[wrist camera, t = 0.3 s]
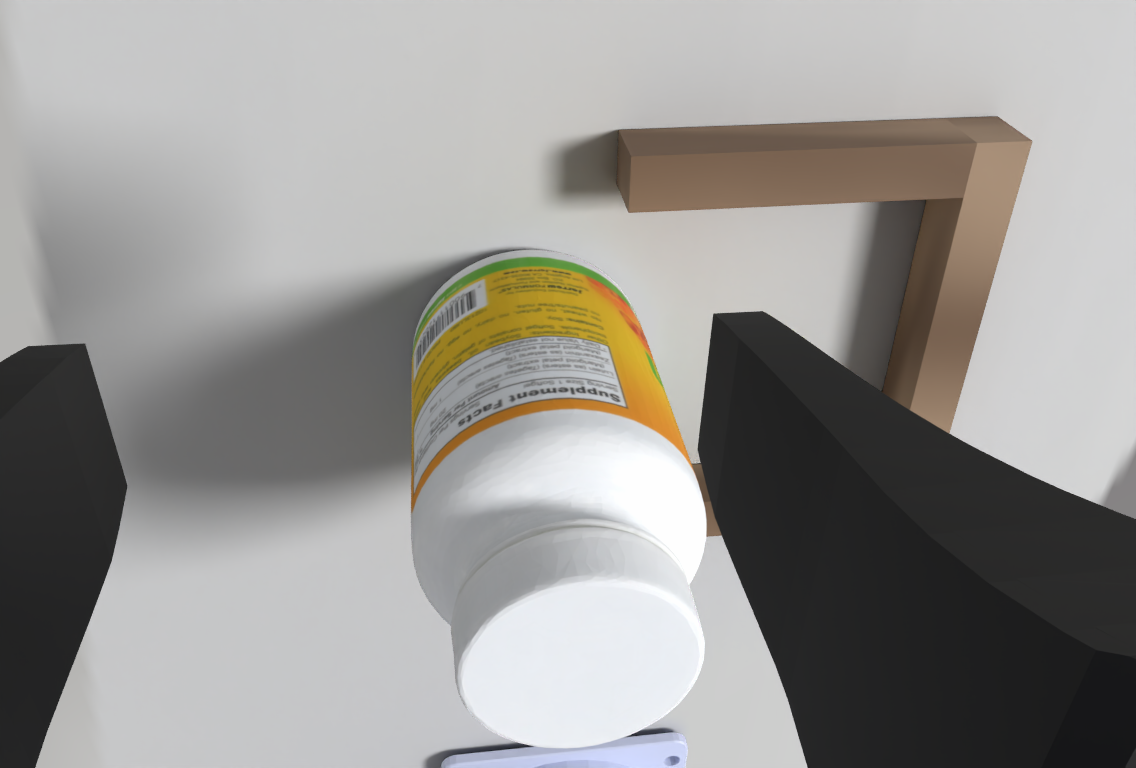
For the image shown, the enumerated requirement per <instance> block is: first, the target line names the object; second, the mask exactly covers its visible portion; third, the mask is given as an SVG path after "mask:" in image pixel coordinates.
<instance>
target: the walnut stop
mask: <svg viewBox="0 0 1136 768" xmlns="http://www.w3.org/2000/svg"><path fill="white" fill-rule="evenodd" d="M1031 144H1032V140H1030V139H1029V138H1027V137H1026V136H1025V135H1023V134H1022V133H1020V132H1019V131H1017V130H1016V129H1015V128H1013V127H1012V126H1010V125H1009V124H1007V123H1006V122H1005V121H1003V120H1002V119H1000V118H999V117H998V116H995V117H967V118H939V119H911V120H883V121H855V122H827V123H799V124H770V125H742V126H714V127H686V128H658V129H630V130H619V133H618V158H617V183H616V184H617V186H618V189H619V191H620V193H621V196H622V198H623V200H624V203H625V205H626V208H627V210H628V212H629V213H635V212H657V211H679V210H702V209H724V208H746V207H768V206H791V205H813V204H835V203H857V202H880V201H902V200H924V199H927V200H926V204H925V209H924V213H923V217H922V222H921V226H920V230H919V235H918V239H917V243H916V248H915V252H914V256H913V261H912V265H911V270H910V274H909V278H908V283H907V287H906V291H905V296H904V300H903V304H902V309H901V313H900V317H899V322H898V326H897V330H896V335H895V339H894V343H893V348H892V352H891V357H890V361H889V365H888V370H887V374H886V378H885V383H884V387H883V391H882V393H884V394H885V395H887V396H888V397H890V398H892V399H893V400H895V401H896V402H898V403H899V404H901V405H903V406H904V407H906V408H907V409H909V410H911V411H912V412H914V413H916V414H917V415H919V416H921V417H922V418H924V419H926V420H927V421H929V422H931V423H932V424H934V425H936V426H937V427H939V428H941V429H942V430H944V431H946V432H947V433H950V429H951V426H952V422H953V418H954V415H955V411H956V408H957V404H958V401H959V397H960V394H961V390H962V387H963V383H964V380H965V376H966V373H967V369H968V366H969V362H970V359H971V355H972V352H973V348H974V345H975V341H976V338H977V334H978V331H979V327H980V324H981V320H982V317H983V313H984V310H985V306H986V302H987V299H988V295H989V292H990V288H991V285H992V281H993V278H994V274H995V271H996V267H997V264H998V260H999V257H1000V253H1001V250H1002V246H1003V243H1004V239H1005V236H1006V232H1007V229H1008V225H1009V222H1010V218H1011V215H1012V211H1013V208H1014V204H1015V201H1016V197H1017V194H1018V190H1019V187H1020V183H1021V179H1022V176H1023V172H1024V169H1025V165H1026V162H1027V158H1028V155H1029V151H1030V148H1031ZM692 467H693V470H694V472H695V475H696V478H697V481H698V484H699V488H700V491H701V494H702V498H703V502H704V506H705V512H706V537H708V536H720V535H721V532H720V529H719V527H718V524H717V522H716V519H715V516H714V513H713V509H712V505H711V501H710V498H709V494H708V490H707V486H706V482H705V478H704V474H703V470H702V466H701V464H693V465H692Z"/></svg>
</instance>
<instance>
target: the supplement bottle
mask: <svg viewBox="0 0 1136 768" xmlns="http://www.w3.org/2000/svg"><path fill="white" fill-rule="evenodd" d="M411 539H412V554H413V561H414V567H415V570H416V574H417V577H418V580H419V583H420V585H421V587H422V589H423V591H424V593H425V595H426V597H427V599H428V600H429V602H430V603H431V605H432V606H433V607H434V608H435V610H436V611H437V612H438V613H439V615H440V616H441V617H442V618H443V619H444V620H445V621H446V622H447V623H448V624H449V625H450V626H451V635H452V643H453V651H454V665H455V679H456V684H457V688H458V692H459V695H460V697H461V699H462V702H463V704H464V705H465V707H466V708H467V710H468V711H469V712H470V713H471V715H472V716H473V717H474V718H475V719H476V720H477V721H478V722H479V723H481V724H482V725H483V726H484V727H486V728H487V729H489V730H490V731H492V732H494V733H496V734H497V735H499V736H502V737H504V738H506V739H508V740H511V741H514V742H517V743H521V744H526V745H530V746H535V747H543V748H580V747H587V746H594V745H598V744H603V743H607V742H611V741H614V740H617V739H620V738H623V737H626V736H628V735H631V734H633V733H636V732H638V731H640V730H642V729H644V728H646V727H647V726H649V725H651V724H653V723H654V722H656V721H658V720H659V719H661V718H662V717H664V716H665V715H666V714H668V713H669V712H670V711H671V710H672V709H673V708H675V707H676V706H677V705H678V704H679V703H680V702H681V700H682V699H683V698H684V697H685V696H686V695H687V693H688V692H689V690H690V689H691V688H692V686H693V685H694V683H695V681H696V679H697V677H698V675H699V673H700V670H701V667H702V663H703V660H704V637H703V632H702V627H701V623H700V620H699V616H698V612H697V609H696V605H695V602H694V599H693V596H692V593H691V590H690V586H689V584H690V583H691V581H692V579H693V577H694V575H695V573H696V571H697V569H698V567H699V564H700V561H701V558H702V555H703V551H704V547H705V541H706V512H705V506H704V502H703V498H702V494H701V491H700V488H699V484H698V481H697V478H696V475H695V472H694V470H693V467H692V464H691V461H690V459H689V456H688V453H687V451H686V448H685V445H684V442H683V440H682V437H681V434H680V431H679V429H678V426H677V423H676V420H675V417H674V415H673V412H672V409H671V406H670V404H669V401H668V398H667V395H666V393H665V390H664V387H663V384H662V382H661V379H660V376H659V374H658V371H657V368H656V365H655V362H654V360H653V357H652V354H651V351H650V348H649V346H648V343H647V340H646V338H645V335H644V333H643V330H642V327H641V325H640V322H639V320H638V318H637V315H636V313H635V311H634V309H633V307H632V305H631V303H630V301H629V300H628V298H627V296H626V295H625V294H624V292H623V291H622V290H621V288H620V287H619V286H618V285H617V284H616V283H615V282H614V281H613V280H612V279H611V278H610V277H609V276H608V275H606V274H605V273H604V272H603V271H601V270H600V269H598V268H597V267H595V266H593V265H592V264H590V263H588V262H586V261H584V260H581V259H579V258H576V257H573V256H571V255H568V254H563V253H559V252H553V251H546V250H517V251H510V252H505V253H500V254H497V255H493V256H490V257H487V258H485V259H483V260H480V261H478V262H476V263H474V264H472V265H470V266H468V267H466V268H465V269H463V270H462V271H460V272H459V273H457V274H456V275H454V276H453V277H452V278H451V279H449V280H448V281H447V282H446V283H445V284H444V285H443V286H442V287H441V288H440V289H439V290H438V291H437V292H436V293H435V294H434V296H433V297H432V299H431V300H430V301H429V303H428V304H427V306H426V308H425V309H424V311H423V313H422V315H421V318H420V320H419V323H418V325H417V328H416V332H415V336H414V341H413V352H412V477H411Z"/></svg>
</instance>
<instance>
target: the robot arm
mask: <svg viewBox="0 0 1136 768" xmlns="http://www.w3.org/2000/svg"><path fill="white" fill-rule="evenodd" d="M698 453H699V457H700V461H701V466H702V470H703V474H704V478H705V482H706V486H707V490H708V494H709V498H710V501H711V505H712V509H713V513H714V516H715V519H716V522H717V524H718V527H719V529H720V532H721V535H722V537H723V540H724V542H725V544H726V547H727V549H728V552H729V554H730V557H731V559H732V562H733V564H734V567H735V569H736V572H737V574H738V576H739V579H740V581H741V584H742V586H743V588H744V591H745V593H746V596H747V598H748V600H749V603H750V605H751V608H752V610H753V612H754V615H755V617H756V620H757V622H758V624H759V627H760V629H761V632H762V634H763V636H764V639H765V641H766V644H767V646H768V648H769V651H770V653H771V656H772V658H773V661H774V663H775V665H776V668H777V671H778V674H779V676H780V679H781V682H782V685H783V687H784V690H785V693H786V696H787V698H788V701H789V705H790V708H791V712H792V715H793V718H794V722H795V725H796V729H797V732H798V736H799V739H800V743H801V746H802V749H803V753H804V756H805V760H806V763H807V767H808V768H1136V519H1134V518H1131V517H1128V516H1126V515H1123V514H1121V513H1118V512H1115V511H1113V510H1110V509H1108V508H1106V507H1103V506H1101V505H1098V504H1096V503H1093V502H1091V501H1089V500H1086V499H1084V498H1081V497H1079V496H1076V495H1074V494H1071V493H1069V492H1066V491H1064V490H1062V489H1059V488H1057V487H1055V486H1053V485H1050V484H1048V483H1046V482H1044V481H1041V480H1039V479H1037V478H1035V477H1033V476H1030V475H1028V474H1026V473H1024V472H1022V471H1020V470H1018V469H1016V468H1014V467H1012V466H1010V465H1008V464H1006V463H1004V462H1002V461H1000V460H998V459H996V458H994V457H992V456H990V455H988V454H986V453H984V452H982V451H980V450H978V449H976V448H974V447H973V446H971V445H969V444H967V443H965V442H963V441H962V440H960V439H958V438H956V437H954V436H953V435H951V434H949V433H947V432H946V431H944V430H942V429H941V428H939V427H937V426H936V425H934V424H932V423H931V422H929V421H927V420H926V419H924V418H922V417H921V416H919V415H917V414H916V413H914V412H912V411H911V410H909V409H907V408H906V407H904V406H903V405H901V404H899V403H898V402H896V401H895V400H893V399H892V398H890V397H888V396H887V395H885V394H884V393H882V392H881V391H879V390H878V389H876V388H875V387H873V386H872V385H870V384H869V383H867V382H866V381H864V380H863V379H861V378H860V377H859V376H857V375H856V374H854V373H853V372H851V371H850V370H848V369H847V368H845V367H844V366H843V365H841V364H840V363H838V362H837V361H835V360H834V359H833V358H831V357H830V356H828V355H827V354H826V353H824V352H823V351H821V350H820V349H818V348H817V347H816V346H814V345H813V344H811V343H810V342H809V341H807V340H806V339H804V338H803V337H801V336H800V335H799V334H797V333H796V332H794V331H793V330H791V329H790V328H789V327H787V326H786V325H784V324H783V323H781V322H780V321H778V320H776V319H775V318H773V317H772V316H770V315H768V314H767V313H765V312H763V311H760V312H739V313H718V314H713V322H712V330H711V339H710V347H709V356H708V365H707V373H706V382H705V390H704V399H703V408H702V416H701V425H700V433H699V442H698ZM126 490H127V483H126V479H125V476H124V473H123V469H122V466H121V463H120V459H119V456H118V453H117V449H116V446H115V442H114V439H113V436H112V432H111V429H110V426H109V422H108V419H107V416H106V412H105V409H104V406H103V402H102V399H101V396H100V392H99V389H98V385H97V382H96V379H95V375H94V372H93V369H92V365H91V362H90V359H89V355H88V352H87V349H86V345H85V344H66V345H45V346H28V347H26V348H24V349H22V350H20V351H18V352H17V353H15V354H13V355H11V356H10V357H8V358H6V359H5V360H3V361H2V362H0V768H35V767H36V763H37V760H38V757H39V754H40V751H41V748H42V745H43V742H44V739H45V736H46V733H47V730H48V728H49V725H50V722H51V720H52V717H53V715H54V712H55V710H56V707H57V704H58V702H59V699H60V696H61V694H62V691H63V689H64V686H65V683H66V681H67V678H68V676H69V673H70V670H71V668H72V665H73V663H74V660H75V657H76V655H77V652H78V650H79V647H80V644H81V642H82V639H83V637H84V634H85V631H86V629H87V626H88V624H89V621H90V618H91V616H92V613H93V610H94V608H95V605H96V602H97V600H98V597H99V594H100V592H101V589H102V586H103V583H104V581H105V578H106V575H107V572H108V570H109V567H110V564H111V561H112V557H113V553H114V548H115V544H116V540H117V535H118V531H119V526H120V521H121V516H122V511H123V506H124V501H125V496H126ZM687 751H688V747H687V743H686V739H685V737H684V736H683V735H682V734H680V733H677V732H670V733H661V734H651V735H641V736H632V737H623V738H620V739H617V740H614V741H611V742H607V743H603V744H598V745H594V746H587V747H580V748H543V747H526V748H516V749H507V750H497V751H487V752H478V753H468V754H458V755H453V756H450V757H448V758H446V759H445V760H444V761H443V762H442V764H441V768H685V767H686V759H687Z"/></svg>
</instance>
